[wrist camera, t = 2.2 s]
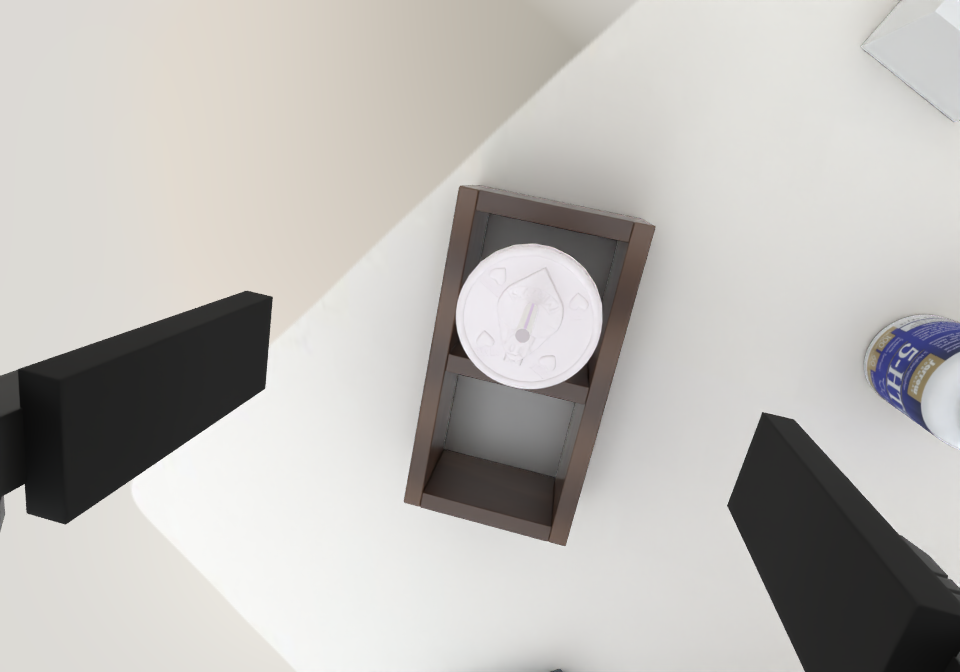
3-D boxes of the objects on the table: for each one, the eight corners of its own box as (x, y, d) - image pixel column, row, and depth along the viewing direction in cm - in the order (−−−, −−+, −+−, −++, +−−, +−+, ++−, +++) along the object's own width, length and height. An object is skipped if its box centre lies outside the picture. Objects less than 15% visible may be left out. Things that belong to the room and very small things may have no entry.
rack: (566, 494, 36) (565, 546, 31) (427, 458, 37) (403, 503, 32) (642, 218, 31) (656, 226, 26) (477, 185, 32) (459, 185, 27)
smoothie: (612, 248, 32) (639, 295, 19) (573, 349, 34) (572, 457, 20) (506, 212, 32) (458, 233, 19) (473, 314, 34) (409, 398, 21)
